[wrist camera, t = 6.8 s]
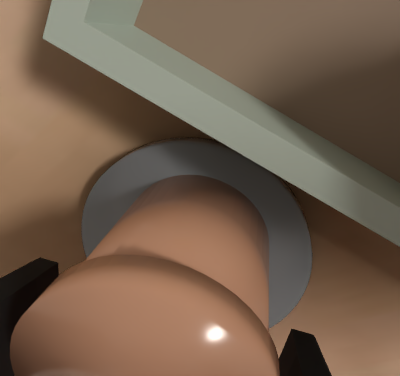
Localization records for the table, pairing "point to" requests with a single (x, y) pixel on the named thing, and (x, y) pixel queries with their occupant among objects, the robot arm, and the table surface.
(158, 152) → the slate saucer
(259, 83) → the green square tray
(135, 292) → the tan jar
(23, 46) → the table surface
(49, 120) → the table surface
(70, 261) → the table surface
